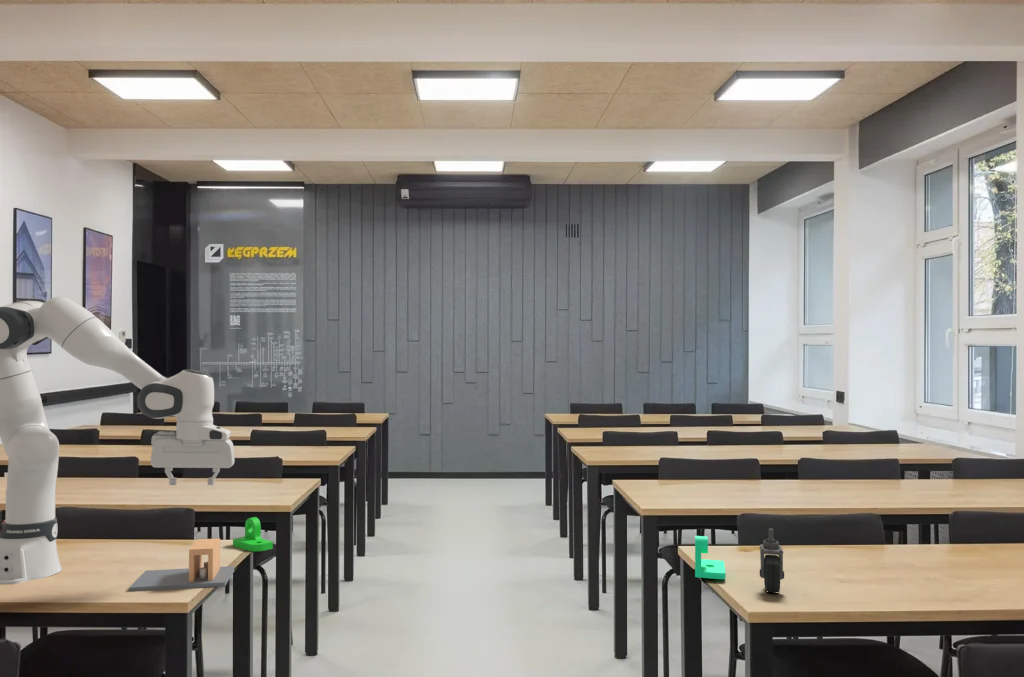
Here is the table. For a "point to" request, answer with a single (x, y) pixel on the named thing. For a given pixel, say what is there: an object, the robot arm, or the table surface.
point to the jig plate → (180, 579)
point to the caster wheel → (771, 563)
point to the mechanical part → (253, 537)
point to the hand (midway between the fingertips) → (191, 484)
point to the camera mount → (707, 561)
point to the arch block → (195, 558)
